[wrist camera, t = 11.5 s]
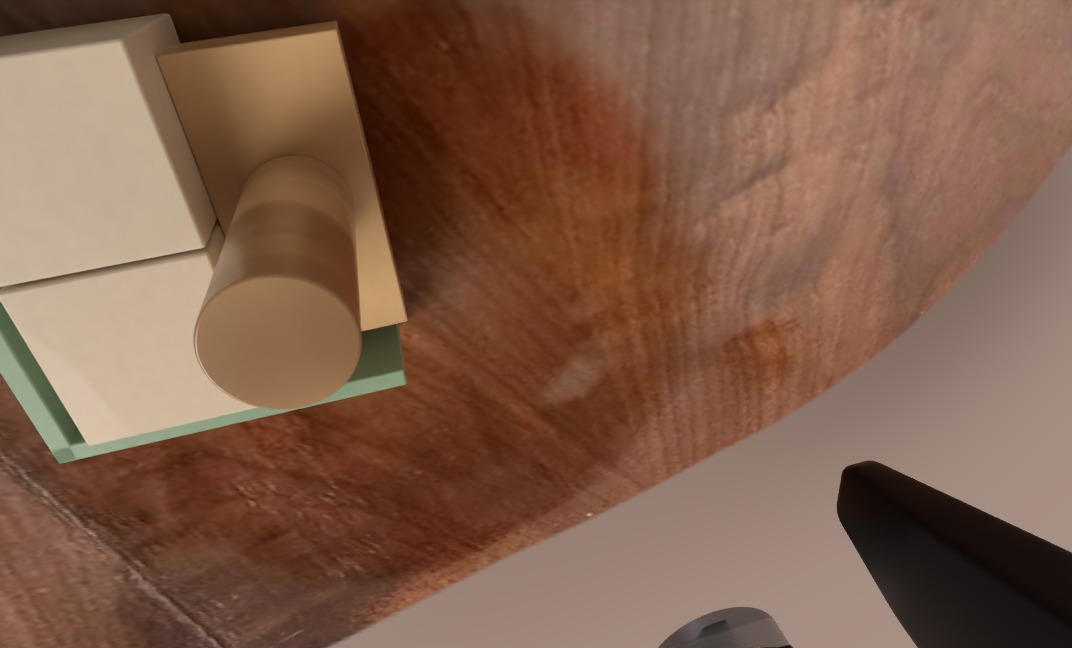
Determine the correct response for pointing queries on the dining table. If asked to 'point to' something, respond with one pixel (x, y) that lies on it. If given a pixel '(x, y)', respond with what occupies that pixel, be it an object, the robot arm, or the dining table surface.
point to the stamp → (284, 213)
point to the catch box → (23, 374)
